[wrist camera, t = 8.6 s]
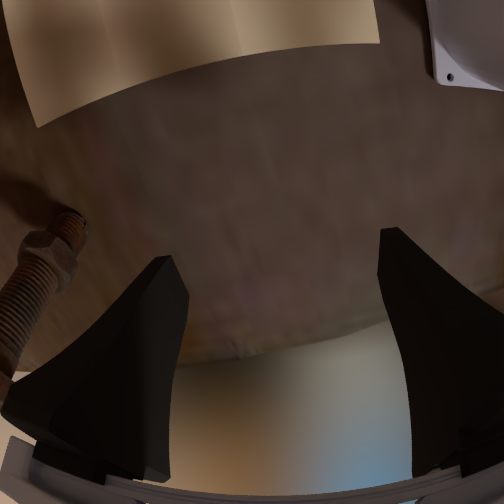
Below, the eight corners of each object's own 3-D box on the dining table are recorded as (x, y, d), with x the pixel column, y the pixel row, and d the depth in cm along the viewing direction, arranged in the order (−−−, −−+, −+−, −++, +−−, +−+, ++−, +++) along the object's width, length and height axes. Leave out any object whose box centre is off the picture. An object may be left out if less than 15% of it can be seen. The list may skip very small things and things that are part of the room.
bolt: (37, 207, 21) (-70, 356, 9) (74, 184, 19) (-53, 357, 8) (75, 260, 24) (-3, 413, 12) (115, 245, 23) (32, 425, 11)
